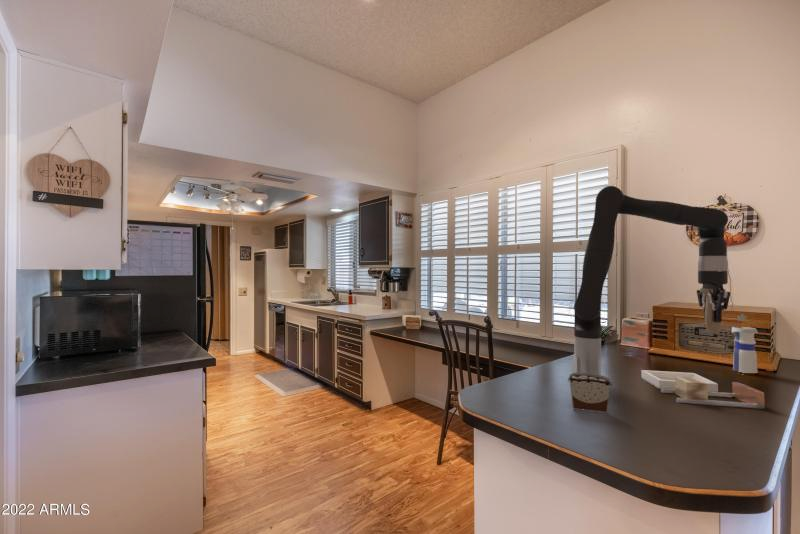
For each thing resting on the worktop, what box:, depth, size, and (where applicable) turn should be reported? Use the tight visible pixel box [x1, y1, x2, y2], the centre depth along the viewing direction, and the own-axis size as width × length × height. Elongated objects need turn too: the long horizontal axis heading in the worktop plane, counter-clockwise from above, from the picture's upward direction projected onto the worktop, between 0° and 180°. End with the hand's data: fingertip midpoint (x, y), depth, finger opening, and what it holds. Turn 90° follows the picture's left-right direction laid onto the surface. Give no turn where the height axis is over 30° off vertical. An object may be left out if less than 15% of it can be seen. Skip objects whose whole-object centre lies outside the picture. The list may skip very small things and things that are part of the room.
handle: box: [699, 288, 727, 335], centre depth 120 cm, size 5×6×15 cm
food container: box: [567, 372, 614, 413], centre depth 112 cm, size 12×6×10 cm, turn 71°
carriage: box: [675, 376, 709, 400], centre depth 121 cm, size 6×7×6 cm
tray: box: [641, 369, 719, 392], centre depth 135 cm, size 18×14×3 cm
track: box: [660, 381, 766, 410], centre depth 119 cm, size 24×11×5 cm, turn 78°
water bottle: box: [731, 313, 759, 373], centre depth 154 cm, size 8×9×25 cm
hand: (712, 320), depth 120 cm, fingers closed on handle, 4 cm apart
